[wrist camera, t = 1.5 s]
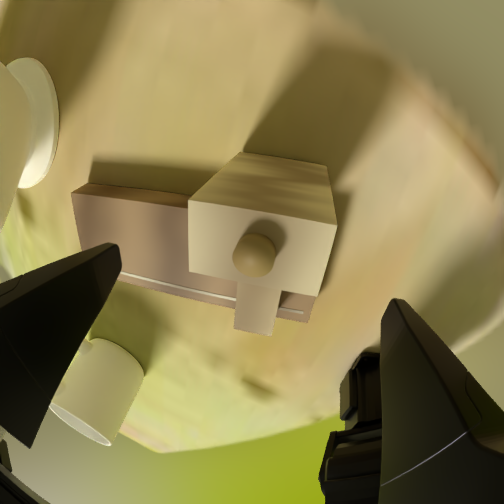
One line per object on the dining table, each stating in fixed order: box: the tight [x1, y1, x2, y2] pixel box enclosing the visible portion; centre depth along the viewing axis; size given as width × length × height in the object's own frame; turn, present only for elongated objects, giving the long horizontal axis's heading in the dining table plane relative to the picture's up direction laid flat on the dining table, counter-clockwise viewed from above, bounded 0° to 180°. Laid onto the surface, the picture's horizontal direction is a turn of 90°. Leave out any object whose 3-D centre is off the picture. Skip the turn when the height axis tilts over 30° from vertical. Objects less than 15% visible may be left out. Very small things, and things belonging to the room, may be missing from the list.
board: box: [71, 183, 316, 323], centre depth 19 cm, size 18×7×2 cm, turn 84°
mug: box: [49, 338, 144, 446], centre depth 27 cm, size 9×12×11 cm
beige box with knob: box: [188, 152, 337, 336], centre depth 15 cm, size 5×10×8 cm, turn 174°
